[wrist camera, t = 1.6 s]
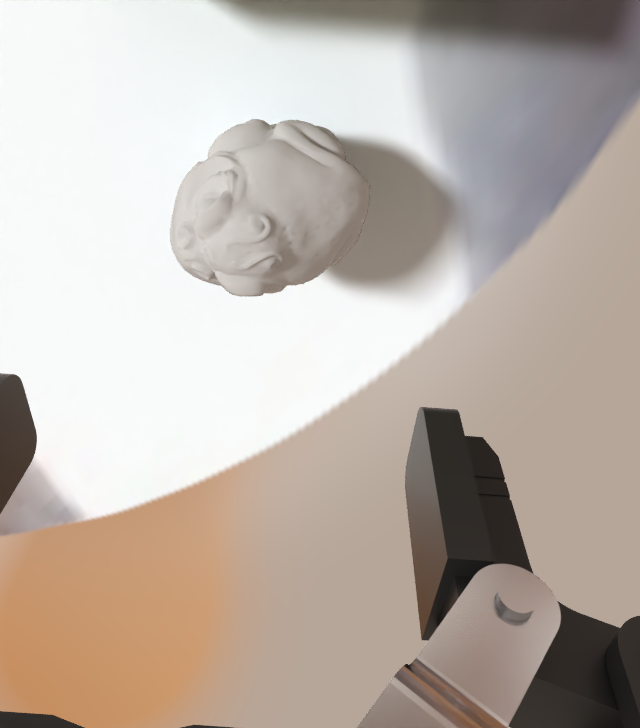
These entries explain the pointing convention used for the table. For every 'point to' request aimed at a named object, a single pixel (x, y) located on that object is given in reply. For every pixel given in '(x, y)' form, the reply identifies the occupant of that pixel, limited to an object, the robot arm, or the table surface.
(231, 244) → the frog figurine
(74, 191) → the table surface
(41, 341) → the table surface
